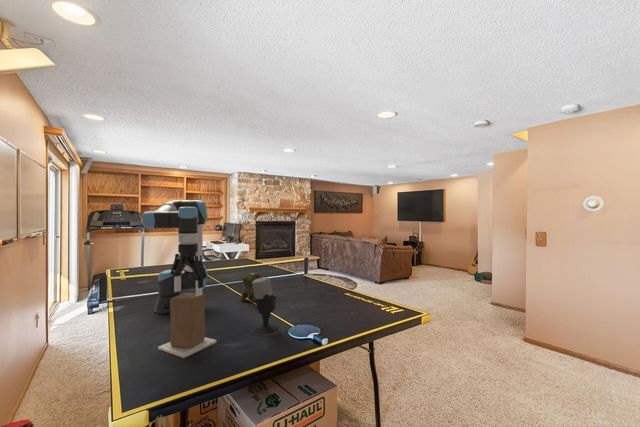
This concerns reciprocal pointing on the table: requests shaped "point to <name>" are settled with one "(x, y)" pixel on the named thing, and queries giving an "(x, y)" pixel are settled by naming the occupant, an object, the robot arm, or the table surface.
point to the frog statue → (249, 285)
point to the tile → (186, 351)
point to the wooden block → (187, 320)
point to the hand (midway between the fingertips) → (188, 293)
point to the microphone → (264, 306)
